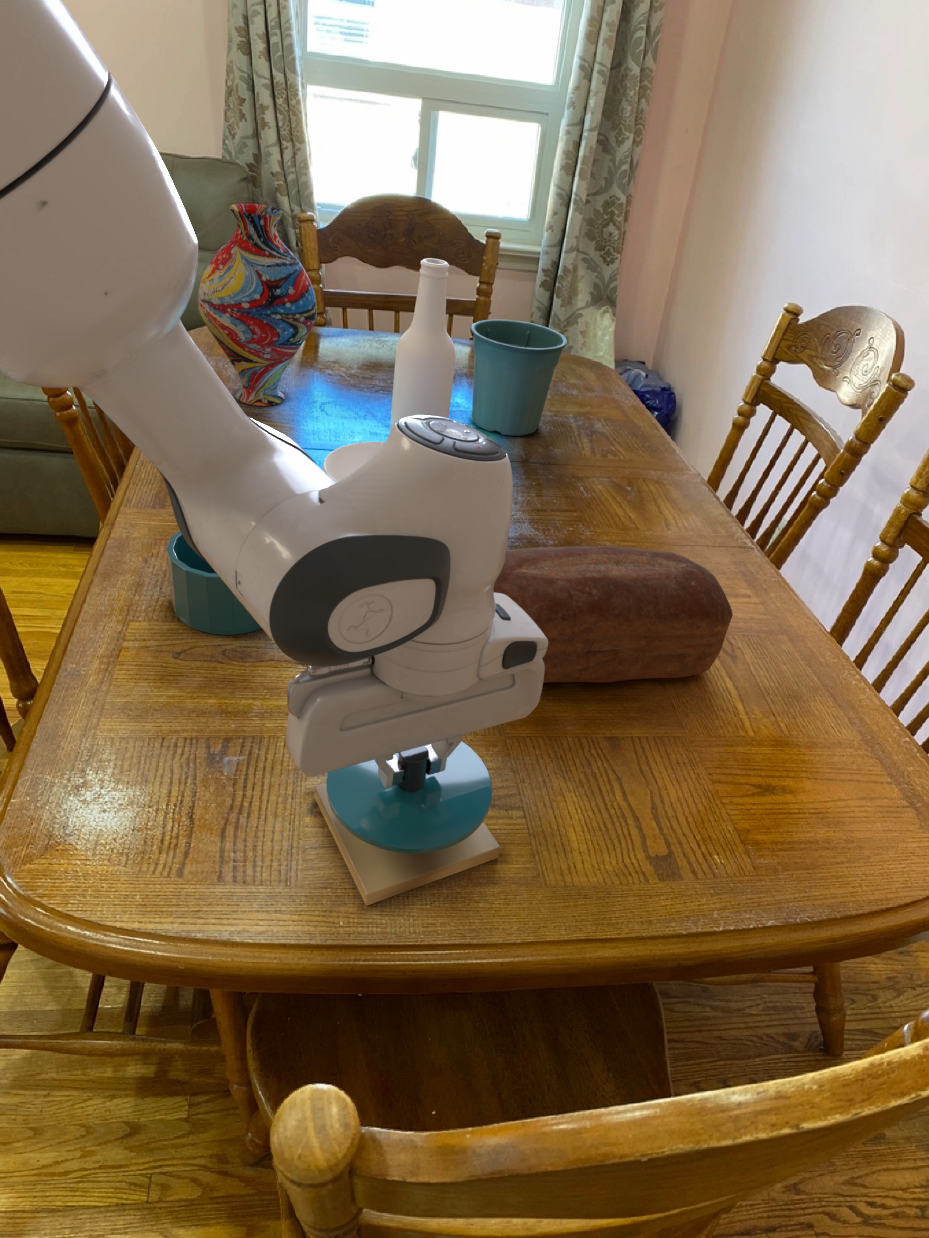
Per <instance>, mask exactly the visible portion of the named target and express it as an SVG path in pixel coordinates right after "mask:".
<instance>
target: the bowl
mask: <svg viewBox="0 0 929 1238" xmlns="http://www.w3.org/2000/svg"><path fill="white" fill-rule="evenodd" d="M385 442H386V441H362V442H355V443H349V444H346V445H342V446H340V447H337V448H336V449H334V450H332V451H331V452H329V453H328V455H326V457H325V458H324V461H323V464H322V466H323V467H322V470H323V471H325V472H326V473H327V474H328V475H329V476H330V477H332V478H333V479H334V480H335V481H336V482H339V481H341V480H343V479H344V478H346V477H347V476H349V475H350V474H352V473H353V472H355V471H356V470H357V469H359V468H360V467H361V466H362V465H364V464H365V463H366V462H367V461H368V460H369V459H370V458H371V457H372V456H373V455H374V454H375V453H376V452H377V451H378V450H379V449H380V448H381V447H382V446H383V445H384V443H385Z"/></svg>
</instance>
